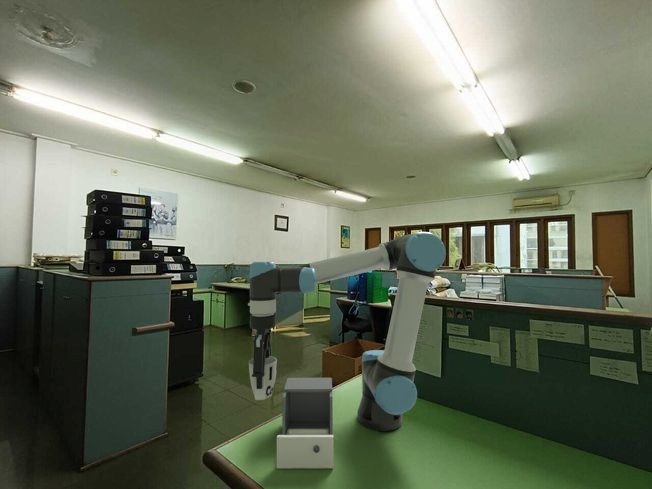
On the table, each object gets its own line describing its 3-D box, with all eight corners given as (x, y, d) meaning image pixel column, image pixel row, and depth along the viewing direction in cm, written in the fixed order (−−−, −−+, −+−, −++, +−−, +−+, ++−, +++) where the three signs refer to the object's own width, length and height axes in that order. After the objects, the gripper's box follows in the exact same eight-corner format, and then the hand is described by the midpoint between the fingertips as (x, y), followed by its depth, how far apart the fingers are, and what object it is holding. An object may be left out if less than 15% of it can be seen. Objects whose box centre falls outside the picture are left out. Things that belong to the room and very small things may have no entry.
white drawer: (283, 437, 95) (284, 410, 95) (332, 437, 95) (332, 410, 95) (276, 469, 80) (276, 438, 80) (333, 469, 80) (333, 438, 81)
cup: (270, 402, 85) (270, 366, 85) (243, 400, 86) (243, 364, 87) (281, 390, 93) (280, 356, 93) (256, 388, 94) (255, 355, 95)
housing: (287, 422, 104) (287, 377, 104) (331, 422, 104) (331, 377, 104) (281, 447, 90) (281, 395, 91) (332, 447, 90) (332, 395, 91)
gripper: (257, 308, 101) (258, 378, 100) (240, 321, 80) (240, 410, 79) (280, 307, 101) (281, 378, 100) (269, 320, 80) (269, 410, 79)
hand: (263, 392), depth 89 cm, fingers closed on cup, 8 cm apart
